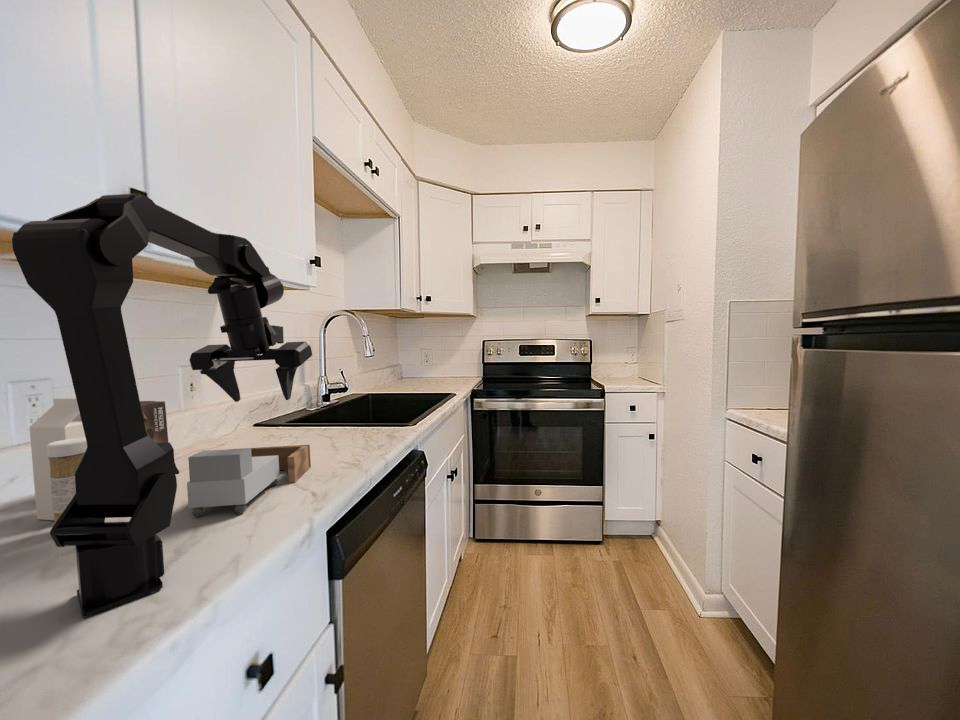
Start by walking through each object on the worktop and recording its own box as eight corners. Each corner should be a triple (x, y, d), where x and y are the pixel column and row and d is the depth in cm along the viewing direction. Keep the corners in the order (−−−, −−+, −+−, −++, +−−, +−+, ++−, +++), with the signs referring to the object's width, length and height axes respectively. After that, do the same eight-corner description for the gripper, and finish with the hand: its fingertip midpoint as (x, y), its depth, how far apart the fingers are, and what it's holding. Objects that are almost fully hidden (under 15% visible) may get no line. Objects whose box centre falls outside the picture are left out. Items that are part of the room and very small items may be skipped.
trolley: (245, 514, 65) (241, 454, 65) (188, 518, 65) (184, 458, 64) (280, 483, 80) (277, 434, 80) (234, 486, 79) (231, 436, 79)
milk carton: (71, 522, 65) (61, 401, 64) (36, 520, 66) (26, 401, 65) (119, 504, 72) (111, 395, 71) (86, 503, 73) (78, 395, 72)
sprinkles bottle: (87, 521, 65) (80, 436, 65) (102, 525, 63) (95, 438, 63) (47, 533, 61) (39, 443, 60) (62, 538, 59) (55, 445, 59)
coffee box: (145, 477, 87) (139, 400, 87) (172, 477, 86) (167, 400, 86) (100, 492, 78) (93, 407, 78) (129, 493, 77) (123, 407, 77)
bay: (295, 482, 80) (293, 456, 80) (219, 487, 79) (217, 461, 79) (310, 467, 90) (309, 444, 90) (243, 471, 89) (242, 448, 88)
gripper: (316, 303, 77) (329, 380, 82) (217, 307, 77) (237, 383, 83) (289, 318, 67) (307, 406, 72) (175, 322, 67) (201, 409, 72)
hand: (263, 400), depth 75 cm, fingers open, 9 cm apart
